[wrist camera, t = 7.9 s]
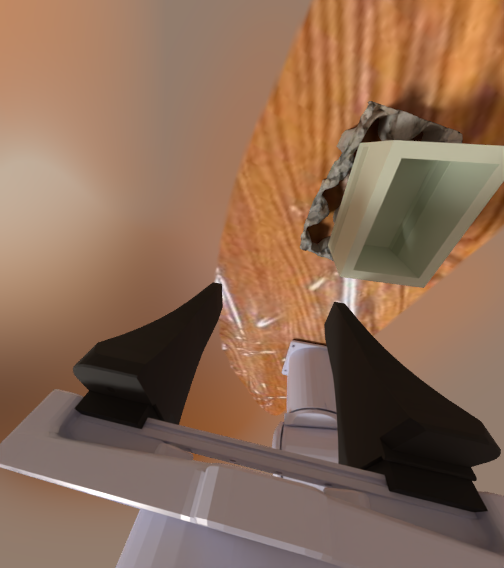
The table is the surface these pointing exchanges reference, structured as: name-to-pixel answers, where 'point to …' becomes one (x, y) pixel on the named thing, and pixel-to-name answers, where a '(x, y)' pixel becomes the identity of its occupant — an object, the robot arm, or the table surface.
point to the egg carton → (389, 128)
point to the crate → (410, 207)
